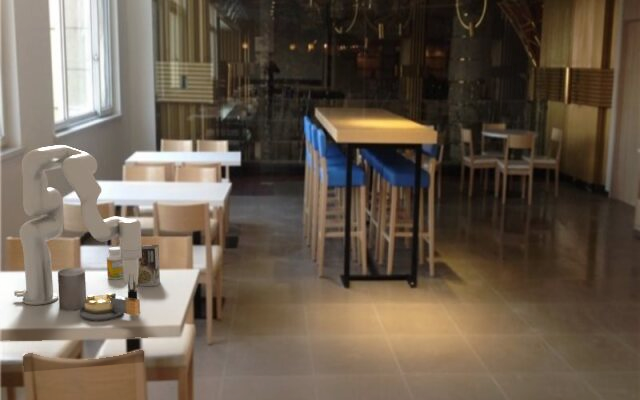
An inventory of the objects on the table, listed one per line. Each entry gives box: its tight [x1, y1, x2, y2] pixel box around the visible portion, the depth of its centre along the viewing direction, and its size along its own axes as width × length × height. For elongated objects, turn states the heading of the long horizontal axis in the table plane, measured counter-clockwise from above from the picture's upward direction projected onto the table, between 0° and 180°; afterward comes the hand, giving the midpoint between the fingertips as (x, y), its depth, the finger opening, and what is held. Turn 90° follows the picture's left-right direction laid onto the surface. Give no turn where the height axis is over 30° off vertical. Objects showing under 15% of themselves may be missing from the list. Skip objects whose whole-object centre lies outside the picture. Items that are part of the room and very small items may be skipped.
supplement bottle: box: [106, 246, 124, 281], centre depth 302 cm, size 7×7×13 cm
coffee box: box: [136, 244, 161, 287], centre depth 293 cm, size 9×6×16 cm
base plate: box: [79, 307, 124, 323], centre depth 258 cm, size 15×15×2 cm
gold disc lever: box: [84, 292, 141, 316], centre depth 255 cm, size 22×12×6 cm, turn 67°
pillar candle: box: [57, 267, 87, 312], centre depth 265 cm, size 10×10×15 cm
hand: (132, 301), depth 261 cm, fingers closed
